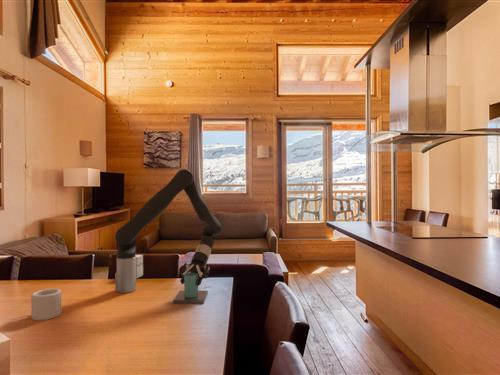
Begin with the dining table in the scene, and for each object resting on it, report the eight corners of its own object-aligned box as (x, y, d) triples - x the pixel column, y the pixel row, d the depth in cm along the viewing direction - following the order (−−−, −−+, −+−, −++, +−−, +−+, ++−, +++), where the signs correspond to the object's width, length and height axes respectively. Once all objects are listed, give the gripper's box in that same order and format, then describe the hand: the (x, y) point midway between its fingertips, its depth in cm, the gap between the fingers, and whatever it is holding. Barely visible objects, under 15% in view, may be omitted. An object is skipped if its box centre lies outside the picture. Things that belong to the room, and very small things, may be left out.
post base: (173, 303, 152) (172, 282, 152) (179, 293, 166) (179, 273, 166) (203, 303, 152) (203, 281, 152) (207, 293, 166) (207, 273, 166)
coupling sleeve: (182, 296, 158) (182, 275, 158) (189, 292, 163) (189, 272, 163) (193, 297, 155) (193, 276, 155) (200, 294, 161) (199, 273, 161)
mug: (67, 312, 143) (67, 289, 143) (44, 322, 132) (44, 297, 132) (44, 309, 147) (43, 286, 147) (20, 318, 137) (19, 293, 137)
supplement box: (137, 278, 194) (136, 257, 194) (125, 278, 196) (125, 256, 196) (143, 275, 201) (143, 254, 201) (132, 274, 203) (132, 254, 203)
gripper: (186, 250, 169) (173, 278, 158) (211, 252, 163) (199, 281, 153) (192, 258, 174) (180, 286, 163) (216, 260, 168) (205, 289, 158)
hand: (189, 284), depth 158 cm, fingers open, 8 cm apart
